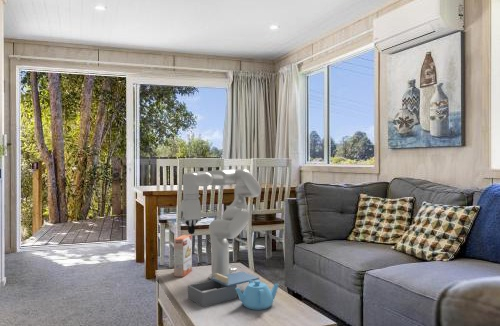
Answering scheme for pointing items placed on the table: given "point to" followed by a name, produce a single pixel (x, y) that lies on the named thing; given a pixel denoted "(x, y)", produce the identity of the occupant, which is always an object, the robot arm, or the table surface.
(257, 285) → the teapot
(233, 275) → the lid
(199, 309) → the table surface
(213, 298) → the base
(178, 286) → the table surface
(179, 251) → the cracker box
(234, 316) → the table surface
